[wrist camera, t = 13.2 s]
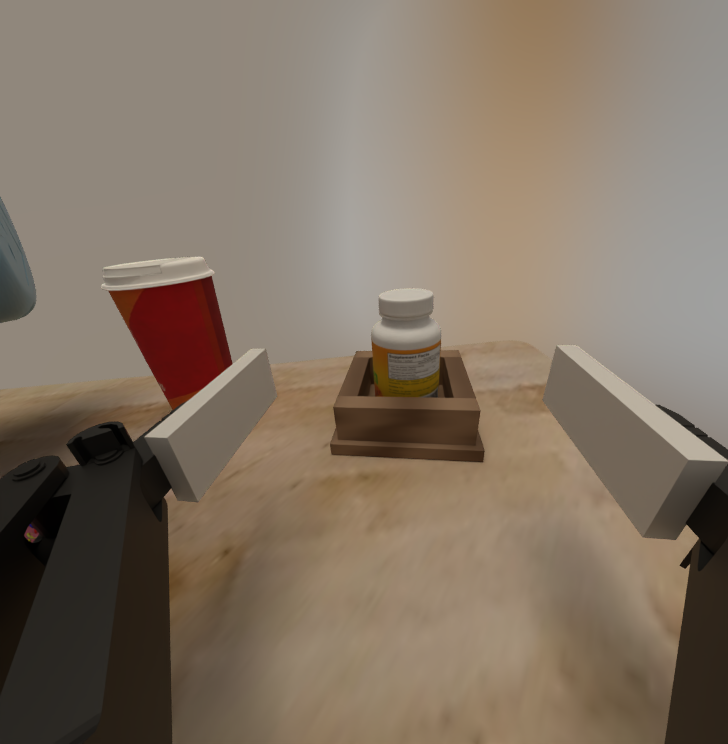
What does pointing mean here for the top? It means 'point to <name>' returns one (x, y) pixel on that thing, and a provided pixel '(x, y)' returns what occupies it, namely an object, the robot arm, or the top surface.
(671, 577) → the top surface
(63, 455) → the top surface
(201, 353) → the paper cup
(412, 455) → the socket block
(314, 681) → the top surface
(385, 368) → the supplement bottle
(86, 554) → the robot arm
